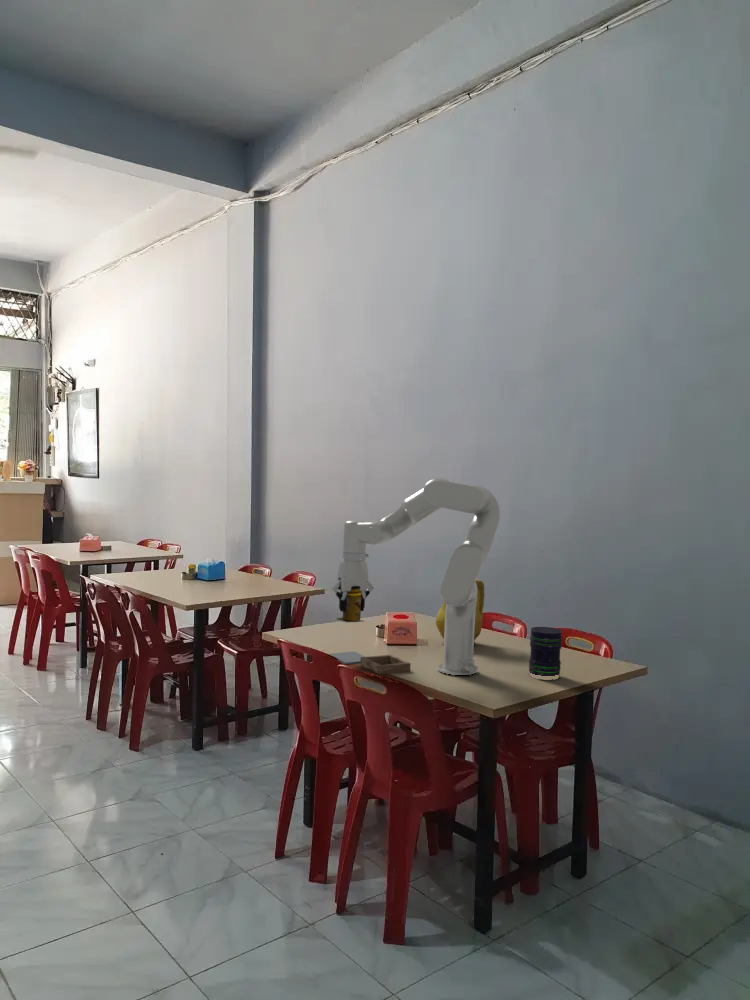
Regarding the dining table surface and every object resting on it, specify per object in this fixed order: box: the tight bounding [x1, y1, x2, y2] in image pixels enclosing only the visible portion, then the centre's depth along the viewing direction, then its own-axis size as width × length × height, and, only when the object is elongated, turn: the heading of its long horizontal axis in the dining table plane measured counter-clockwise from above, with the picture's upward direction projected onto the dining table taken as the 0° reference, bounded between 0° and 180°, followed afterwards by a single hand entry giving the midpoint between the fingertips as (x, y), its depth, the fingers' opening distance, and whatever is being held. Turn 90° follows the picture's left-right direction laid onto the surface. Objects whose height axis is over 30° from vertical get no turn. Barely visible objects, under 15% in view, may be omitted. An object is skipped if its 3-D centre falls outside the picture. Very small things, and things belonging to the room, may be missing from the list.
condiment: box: [333, 586, 365, 624], centre depth 258 cm, size 7×8×12 cm
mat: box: [330, 651, 366, 665], centre depth 259 cm, size 13×10×1 cm
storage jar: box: [528, 626, 563, 676], centre depth 246 cm, size 10×10×15 cm
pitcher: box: [435, 578, 486, 645], centre depth 288 cm, size 17×19×25 cm
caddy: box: [360, 654, 412, 675], centre depth 249 cm, size 12×11×2 cm
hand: (351, 610), depth 259 cm, fingers closed on condiment, 6 cm apart
